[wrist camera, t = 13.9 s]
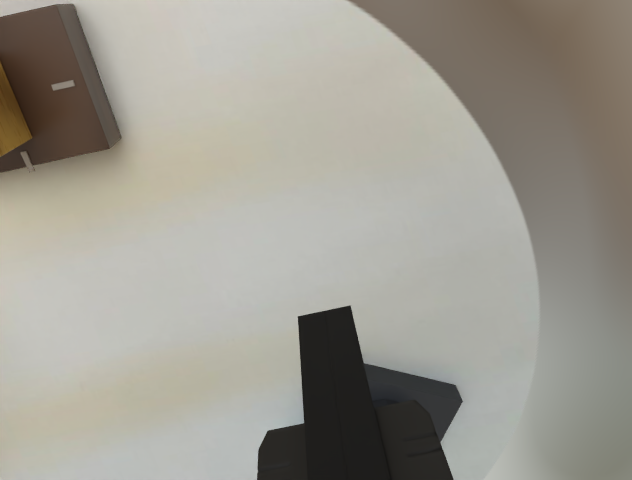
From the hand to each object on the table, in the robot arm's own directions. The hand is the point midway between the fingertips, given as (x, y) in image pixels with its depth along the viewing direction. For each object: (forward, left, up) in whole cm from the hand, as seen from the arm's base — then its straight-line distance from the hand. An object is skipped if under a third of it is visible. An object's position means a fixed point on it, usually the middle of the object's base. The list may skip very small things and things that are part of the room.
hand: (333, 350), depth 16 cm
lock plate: (+19, +3, -26) cm, 33 cm away
